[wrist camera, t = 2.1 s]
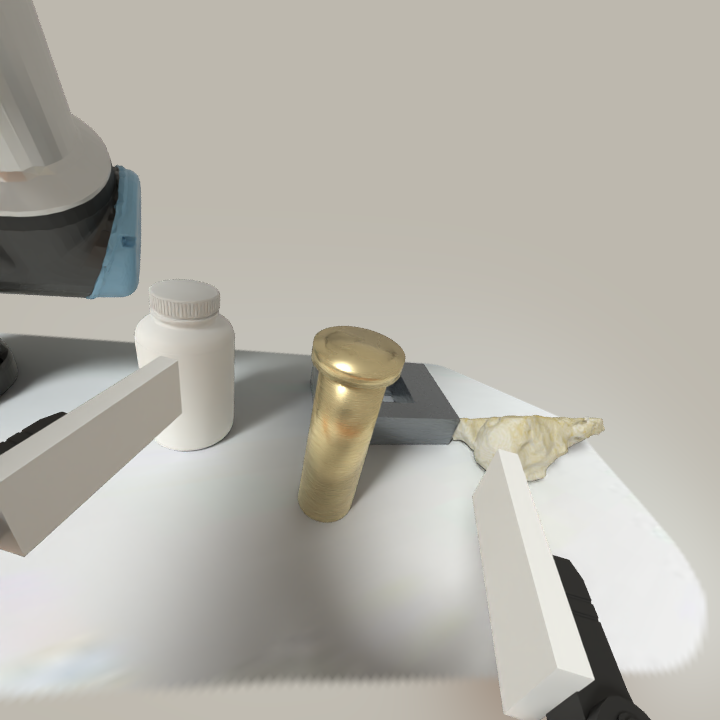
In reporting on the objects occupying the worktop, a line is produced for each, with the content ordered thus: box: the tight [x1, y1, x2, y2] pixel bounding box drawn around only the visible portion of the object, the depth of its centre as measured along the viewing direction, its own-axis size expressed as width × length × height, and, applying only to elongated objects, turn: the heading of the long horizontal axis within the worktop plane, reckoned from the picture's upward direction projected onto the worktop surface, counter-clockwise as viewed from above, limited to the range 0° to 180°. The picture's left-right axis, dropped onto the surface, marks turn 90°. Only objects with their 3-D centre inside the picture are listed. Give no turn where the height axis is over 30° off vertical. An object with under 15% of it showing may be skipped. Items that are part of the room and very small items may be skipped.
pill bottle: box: [134, 279, 235, 451], centre depth 31 cm, size 8×8×15 cm
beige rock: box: [452, 415, 605, 481], centre depth 38 cm, size 15×7×15 cm
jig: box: [311, 363, 460, 444], centre depth 42 cm, size 16×12×4 cm
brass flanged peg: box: [298, 326, 405, 522], centre depth 27 cm, size 6×6×16 cm
